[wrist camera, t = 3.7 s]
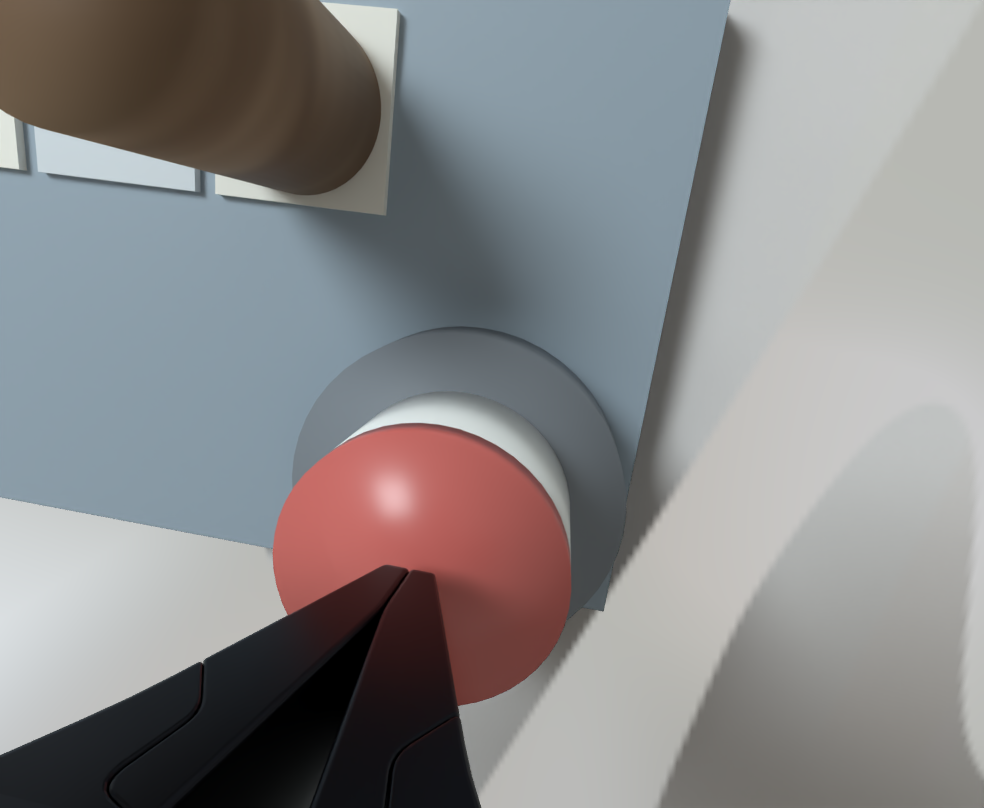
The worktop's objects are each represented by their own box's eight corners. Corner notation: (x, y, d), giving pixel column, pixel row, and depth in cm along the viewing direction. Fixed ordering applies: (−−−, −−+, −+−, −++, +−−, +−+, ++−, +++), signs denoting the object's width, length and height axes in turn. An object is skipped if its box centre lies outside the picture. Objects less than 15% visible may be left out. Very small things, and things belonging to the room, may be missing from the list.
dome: (550, 625, 13) (545, 732, 10) (335, 584, 13) (270, 674, 10) (588, 411, 11) (596, 462, 8) (347, 374, 12) (275, 409, 9)
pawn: (375, 204, 12) (201, 149, 6) (223, 185, 12) (-74, 116, 7) (387, 19, 11) (195, -246, 5) (222, 4, 11) (-125, -259, 6)
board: (596, 613, 15) (601, 679, 13) (-152, 471, 17) (-266, 504, 15) (720, 6, 11) (761, -64, 9) (-262, -75, 14) (-439, -148, 11)
